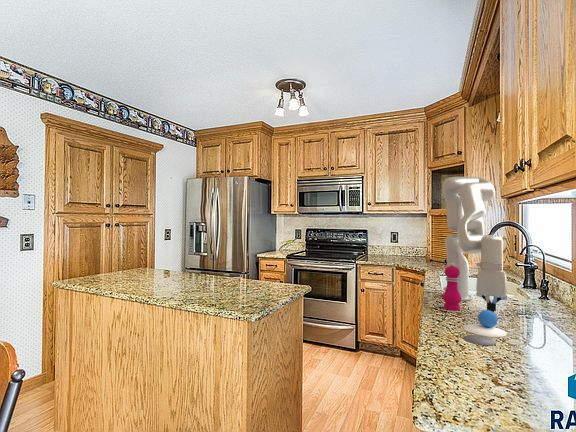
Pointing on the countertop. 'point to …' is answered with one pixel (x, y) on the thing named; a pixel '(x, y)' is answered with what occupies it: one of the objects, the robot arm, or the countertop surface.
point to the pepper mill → (452, 288)
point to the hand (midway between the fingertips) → (491, 312)
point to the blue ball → (487, 318)
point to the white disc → (484, 330)
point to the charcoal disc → (479, 340)
